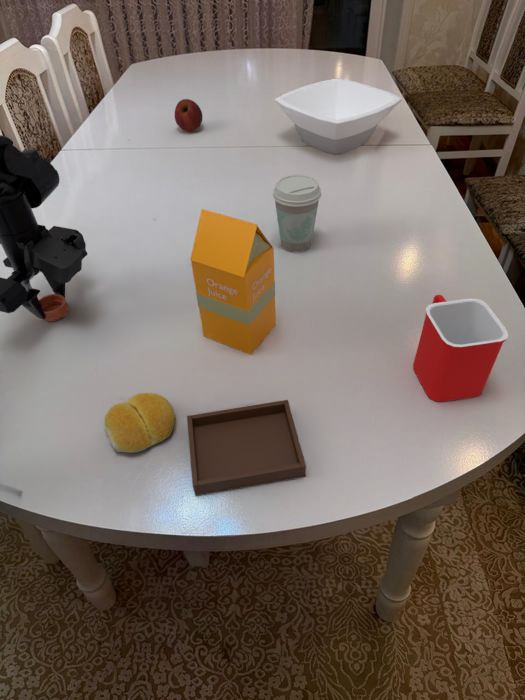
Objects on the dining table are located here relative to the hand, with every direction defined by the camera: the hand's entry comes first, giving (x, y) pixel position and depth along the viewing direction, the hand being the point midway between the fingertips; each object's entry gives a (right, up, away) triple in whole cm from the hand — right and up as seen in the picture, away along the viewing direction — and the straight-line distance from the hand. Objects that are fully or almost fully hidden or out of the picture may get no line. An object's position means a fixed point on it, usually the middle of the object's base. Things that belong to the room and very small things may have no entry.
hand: (52, 308), depth 82 cm
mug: (+60, -10, -11) cm, 62 cm away
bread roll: (+19, -17, -17) cm, 30 cm away
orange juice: (+31, -4, -4) cm, 32 cm away
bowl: (+53, +47, +46) cm, 84 cm away
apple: (+15, +53, +54) cm, 77 cm away
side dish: (0, -1, +1) cm, 1 cm away
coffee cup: (+41, +13, +13) cm, 45 cm away
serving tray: (+32, -19, -20) cm, 43 cm away
